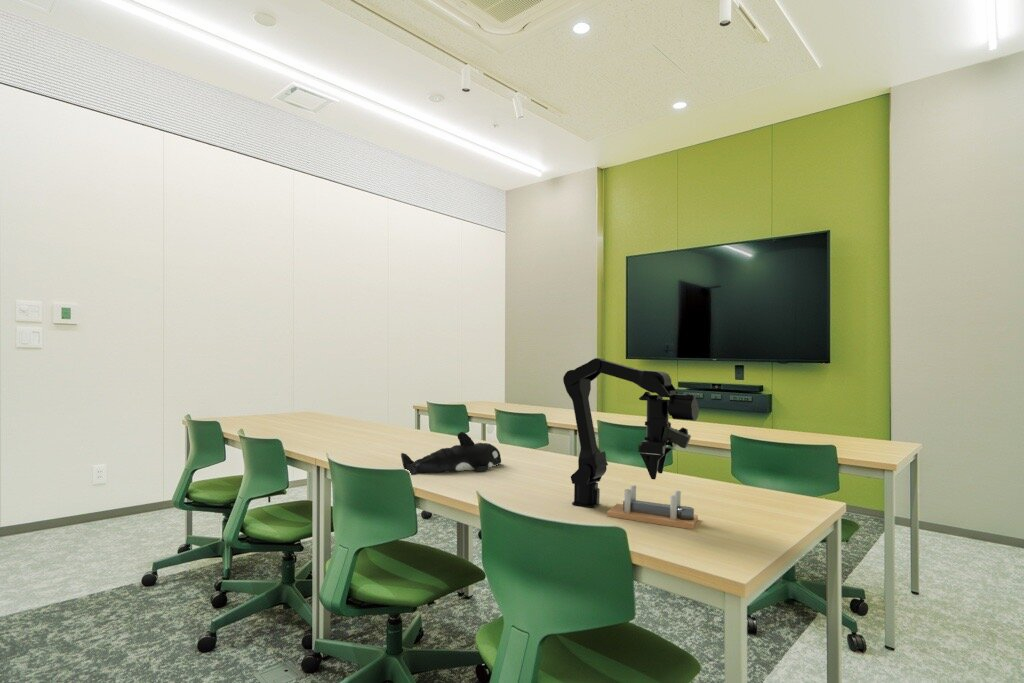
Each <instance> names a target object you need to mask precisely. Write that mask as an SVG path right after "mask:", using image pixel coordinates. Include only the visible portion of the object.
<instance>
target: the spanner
mask: <svg viewBox="0 0 1024 683" xmlns="http://www.w3.org/2000/svg"><path fill="white" fill-rule="evenodd" d="M622 502H623V503H622V504H623V511H624V500H623V501H622ZM630 512H637V513H644V514H651V515H658V516H664V517H670V504H667V503H660V502H651V501H646V500H645V501H644V500H638V499H636V500H631V506H630ZM694 514H695V509H694V508H693V507H692V506H691V507H690V506H688V505H680V506H677V518H678V519H681V520H694Z"/></svg>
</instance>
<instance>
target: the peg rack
mask: <svg viewBox="0 0 1024 683" xmlns="http://www.w3.org/2000/svg"><path fill="white" fill-rule="evenodd" d="M673 493H674V494H672V495H670V498H669V499H670V500H669V501H670V502H669V503H670V504H669V505H670V517H664V516H658V515H651V514H644V513H637V512H630V506H631V500H637V485H636V484H630V487H629V489H624V500H623V501H624V511H623V503H618V502H617V503H615V505H613V506H612V507H611V508H610V509H608V510H607V511H606V516H607V517H610V518H615V519H616V518H617V519H625V520H630V521H635V522H637V521H638V522H644V523H649V524H657V525H662V526H669V527H675V528H683V529H689V530H693V529H694V527H695V526H696V523H697V521H698V519H699V518H698V517H699V515H698V514H695V513H694V520H681V519H678V518H677V506H682V505H681V503H682V502H681V500H682V498H681V494H682V491H681V490H674V492H673Z"/></svg>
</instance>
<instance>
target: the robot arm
mask: <svg viewBox="0 0 1024 683" xmlns="http://www.w3.org/2000/svg"><path fill="white" fill-rule="evenodd" d="M601 374H604V375H607V376H611V377H614V378H617V379H621V380H625V381H627V382H631V383H633V384H635V385H637V386H638V387H640V388H641V389H643V390H645V392H644V393H643V394H642V395H641V396H640V397H638V399H639V401H646V421H644V426H645V427H646V436H644V440H642V441H641V442H640V443H639V444H638V446H637V449H638V450H637V451H638V453H639V456H640V457H641V458H642V461H643V463H644V465H645V467H646V470H647V473H648V474H649V477H650V479H651V480H656V479H657V475H658V474H663V473H664V472H663V471H664V468H665V464H666V460H667V456H668V454H669V453H670V452H671V451H672V450H673V449H674V447H675V445H677V446H679V447H680V448H683V449H686V448H687V447H688V446H689V442H690V440H691V437H692V436H691V434H689V431H688V430H689V429H687V428H686V427H681V428H680V429H678V428H673V427H672V422H671V421H669V416H670V417H671V418H672V420H680V421H693V422H696V421H697V420H698V418H699V412H700V410H699V409H700V406H699V403H698V401H697V398H696V397H697V396H696V394H692V393H691V394H689V393H688V394H680V393H679V391H677V389H676V387H675V386H674V384H673V383H672V378H671V376H670V374H669V373H667V372H665V371H658V370H648V369H647V370H645V369H638V368H634V367H631V366H627V365H625V364H622V363H621V364H620V363H617V362H613V361H609V360H607V359H605V358H601V357H600V358H599V357H594V358H592V359H591V360H589V361H588V362H587V363H584V364H582V365H580V366H578V367H576V368H574V369H569V370H567V371H566V372H565V373H564V375H563V378H562V381H563V382H562V383H563V384H564V387H565V391H566V393H567V394H568V396H569V398H570V399H571V401H572V405H573V412H574V417H575V418H574V419H575V423H576V428H577V434H578V440H579V446H580V450H579V454H578V460H577V461H578V462H577V463H578V464H577V465H578V469H577V470H576V471H575V472H574V473H572V474H571V475H570V480H571V483H572V485H574V489H573V490H574V491H573V493H574V494H573V501H572V502H571V504H572V505H575V506H582V507H588V508H594V507H596V506H598V505H599V504H600V493H601V490H600V488H599V482H601V479H602V477H603V476H604V475H605V473H606V472H607V468H608V467H607V466H608V465H609V464H608V461H607V456H606V455H607V453H606V451H605V450H604V451H601V450H600V448H599V447H598V445H597V440H596V432H595V429H594V428H595V427H594V421H593V417H592V416H593V415H592V413H591V412H592V410H591V405H590V399H589V397H590V394H591V390H592V389H591V388H592V385H591V382H592V381H594V380H595V379H597V378H598V377H599V376H600V375H601ZM651 393H652V394H651ZM668 398H669V399H668Z"/></svg>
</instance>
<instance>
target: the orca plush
mask: <svg viewBox="0 0 1024 683" xmlns="http://www.w3.org/2000/svg"><path fill="white" fill-rule="evenodd" d="M457 439H458V441H459V444H455V445H453V446H451V447H445V448H440V449H438V450H435V451H434V452H431V453H430V454H428V455H426V456H425V455H424V456H423V457H422V458H418V459H416V460H412V458H411V457H410V456H409V455H408V454H406V453H404V452H400V457H401V462H402V466H403V469H407V470H409V471H410V473H411V475H410V476H414V475H416V473H417V474H432V473H433V472H436V473H446V472H445V471H459V472H463V471H464V470H469V471H474V472H476V471H477V473H478V472H479V473H480V472H486V470H488V471H489V469H490V468H489V467H491V468H493V467H492V466H495V467H497V466H496V465H498V464H499V465H500V464H501V463H502V458H501V452H500V450H499V449H498V448H497V447H496V446H495V445H493V444H491V443H487V442H484V443H483V442H477V443H475V442H474V441H473V439H472V438H471V437H470V436H469V435H468V434H467V433H465V432H464V431H460V432H459V433H457ZM499 465H498V466H499ZM433 474H434V473H433Z"/></svg>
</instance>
